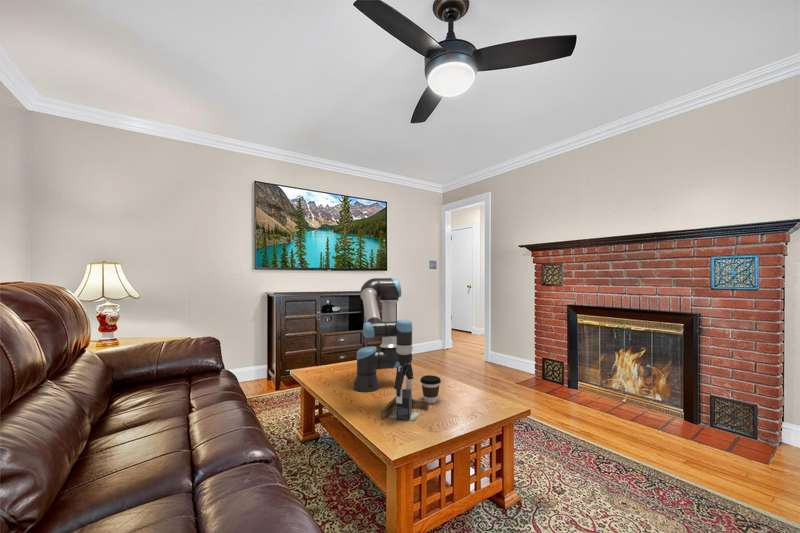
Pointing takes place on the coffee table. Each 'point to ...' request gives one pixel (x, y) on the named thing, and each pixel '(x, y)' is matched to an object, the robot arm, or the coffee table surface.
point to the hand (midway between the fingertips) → (404, 397)
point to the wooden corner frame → (392, 405)
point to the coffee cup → (430, 387)
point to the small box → (405, 405)
